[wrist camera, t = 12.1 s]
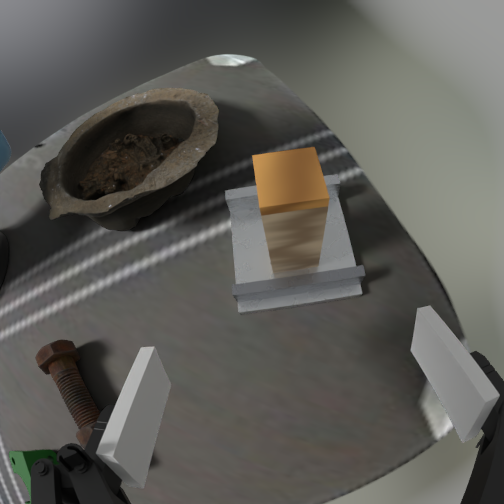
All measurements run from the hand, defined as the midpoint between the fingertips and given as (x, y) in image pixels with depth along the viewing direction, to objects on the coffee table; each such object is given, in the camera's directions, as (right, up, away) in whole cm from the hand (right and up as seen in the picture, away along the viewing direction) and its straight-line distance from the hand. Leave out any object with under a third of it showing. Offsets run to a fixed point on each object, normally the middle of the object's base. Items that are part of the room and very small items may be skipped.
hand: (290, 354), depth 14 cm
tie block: (+2, +5, +17) cm, 18 cm away
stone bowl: (-17, +16, +26) cm, 35 cm away
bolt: (-19, -13, +14) cm, 27 cm away
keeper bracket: (+2, +5, +18) cm, 19 cm away
